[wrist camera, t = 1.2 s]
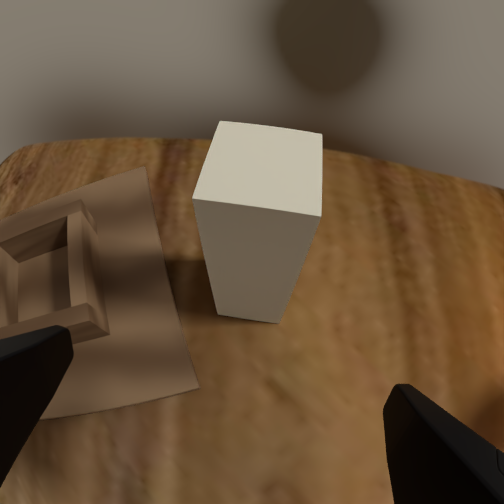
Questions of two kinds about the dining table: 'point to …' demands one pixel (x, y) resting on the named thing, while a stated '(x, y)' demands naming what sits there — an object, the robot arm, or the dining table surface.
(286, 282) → the stool leg
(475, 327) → the dining table surface
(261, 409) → the dining table surface
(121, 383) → the leg socket
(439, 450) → the robot arm
